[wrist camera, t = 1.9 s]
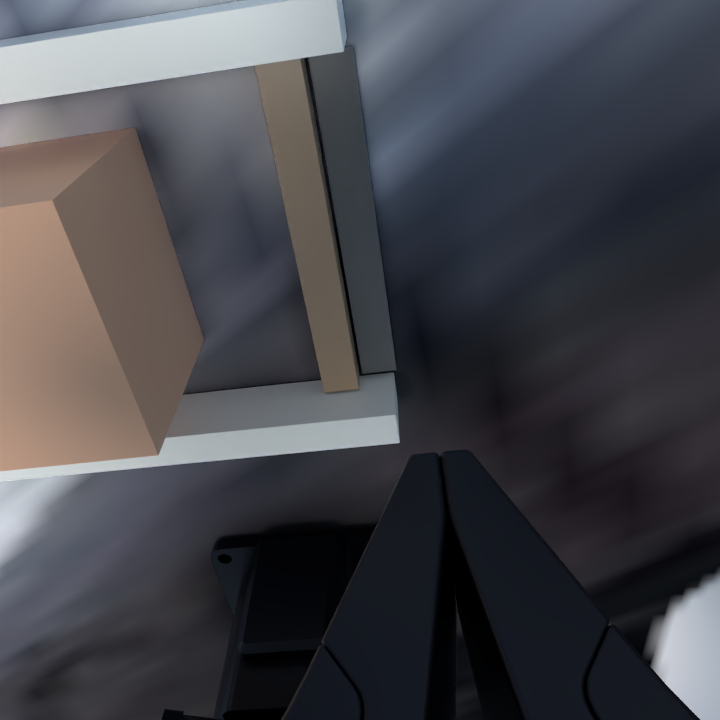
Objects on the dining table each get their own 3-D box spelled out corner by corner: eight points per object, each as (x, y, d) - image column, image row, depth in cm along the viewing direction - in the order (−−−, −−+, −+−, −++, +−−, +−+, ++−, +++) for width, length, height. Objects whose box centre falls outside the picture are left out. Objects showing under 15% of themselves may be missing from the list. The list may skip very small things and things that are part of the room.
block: (205, 338, 19) (158, 455, 15) (9, 361, 20) (-89, 480, 15) (136, 125, 16) (51, 200, 12) (-97, 160, 16) (-257, 243, 12)
